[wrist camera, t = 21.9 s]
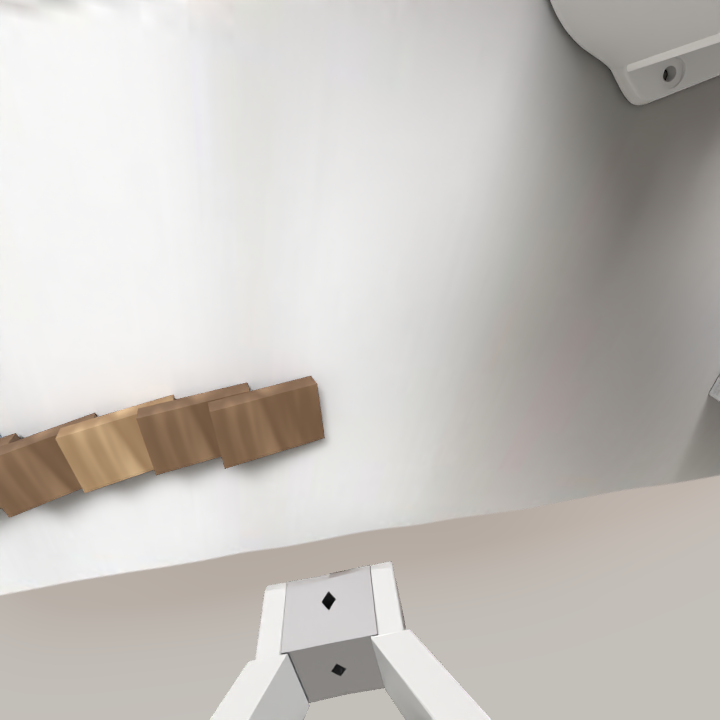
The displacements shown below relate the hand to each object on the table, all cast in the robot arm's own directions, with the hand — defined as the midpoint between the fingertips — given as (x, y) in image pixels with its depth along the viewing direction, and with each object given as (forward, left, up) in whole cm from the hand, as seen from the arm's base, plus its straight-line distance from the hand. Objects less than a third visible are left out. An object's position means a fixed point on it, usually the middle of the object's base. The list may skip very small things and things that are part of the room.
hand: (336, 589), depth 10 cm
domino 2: (+13, +8, -23) cm, 28 cm away
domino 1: (+19, +8, -23) cm, 31 cm away
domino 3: (+7, +8, -23) cm, 26 cm away
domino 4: (+2, +8, -23) cm, 25 cm away
